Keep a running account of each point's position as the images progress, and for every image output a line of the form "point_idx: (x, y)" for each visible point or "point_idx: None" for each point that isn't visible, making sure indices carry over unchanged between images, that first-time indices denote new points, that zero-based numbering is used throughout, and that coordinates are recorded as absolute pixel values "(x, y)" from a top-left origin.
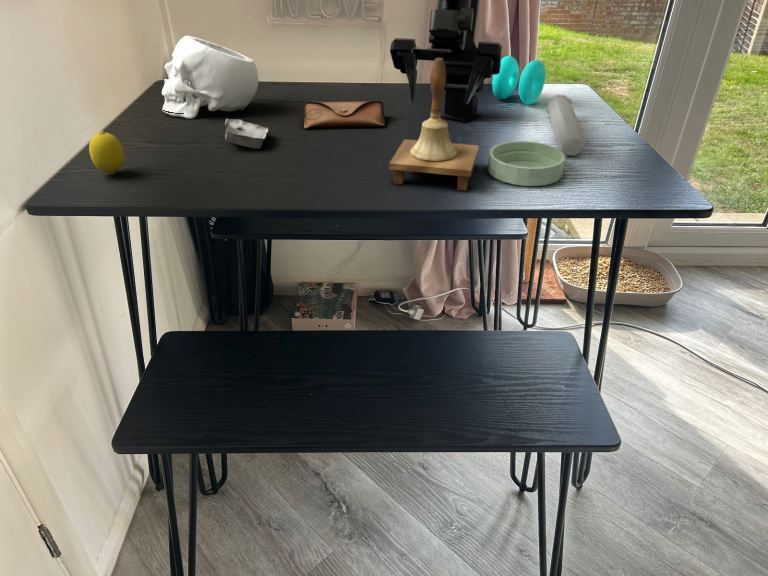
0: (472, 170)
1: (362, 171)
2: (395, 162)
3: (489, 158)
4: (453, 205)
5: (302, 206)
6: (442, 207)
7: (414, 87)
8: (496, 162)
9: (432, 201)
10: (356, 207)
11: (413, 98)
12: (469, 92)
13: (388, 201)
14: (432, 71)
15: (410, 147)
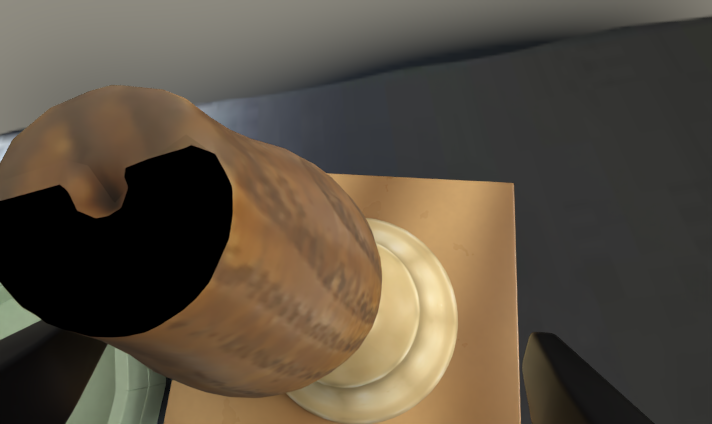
0: None
1: (620, 306)
2: (491, 191)
3: (138, 370)
4: (285, 111)
5: (691, 35)
6: (314, 95)
7: (572, 415)
8: None
9: (343, 123)
10: (542, 55)
11: (529, 339)
12: (8, 339)
13: (465, 102)
14: (341, 192)
15: (467, 370)
